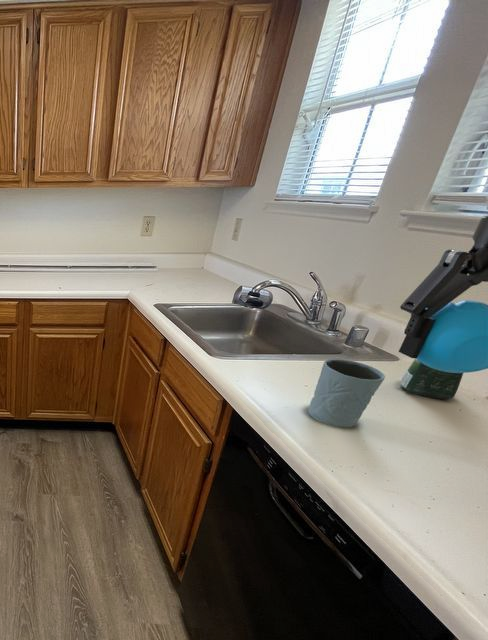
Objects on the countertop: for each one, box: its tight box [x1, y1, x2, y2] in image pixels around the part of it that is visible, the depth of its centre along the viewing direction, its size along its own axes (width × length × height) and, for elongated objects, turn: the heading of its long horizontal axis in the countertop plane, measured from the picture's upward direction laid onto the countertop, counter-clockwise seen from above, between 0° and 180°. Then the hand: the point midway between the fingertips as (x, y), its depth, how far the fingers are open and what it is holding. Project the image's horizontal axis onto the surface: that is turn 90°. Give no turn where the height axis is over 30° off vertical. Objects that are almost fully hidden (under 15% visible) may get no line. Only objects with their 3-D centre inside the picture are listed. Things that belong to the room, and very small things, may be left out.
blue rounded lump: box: [416, 299, 488, 374], centre depth 66 cm, size 12×11×12 cm
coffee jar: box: [400, 358, 464, 400], centre depth 99 cm, size 10×8×19 cm
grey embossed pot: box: [307, 358, 386, 428], centre depth 89 cm, size 10×10×12 cm
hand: (448, 356), depth 68 cm, fingers closed on blue rounded lump, 12 cm apart
